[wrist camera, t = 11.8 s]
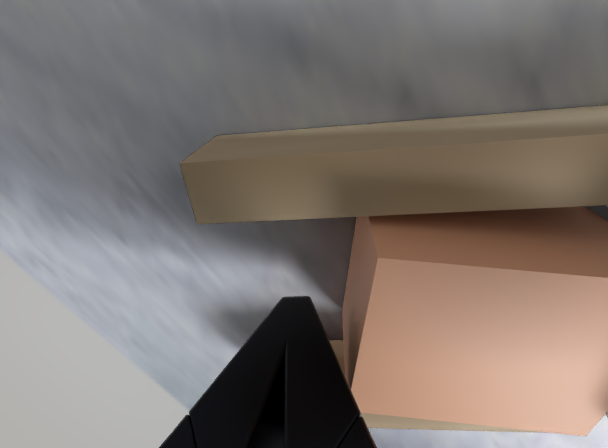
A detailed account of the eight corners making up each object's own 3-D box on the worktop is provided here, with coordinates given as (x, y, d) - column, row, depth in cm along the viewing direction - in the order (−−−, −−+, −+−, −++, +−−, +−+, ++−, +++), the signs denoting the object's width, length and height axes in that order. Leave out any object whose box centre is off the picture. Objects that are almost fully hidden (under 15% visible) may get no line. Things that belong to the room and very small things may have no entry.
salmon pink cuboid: (513, 327, 9) (585, 436, 7) (342, 310, 9) (346, 411, 7) (578, 202, 7) (716, 287, 5) (361, 185, 8) (377, 258, 5)
